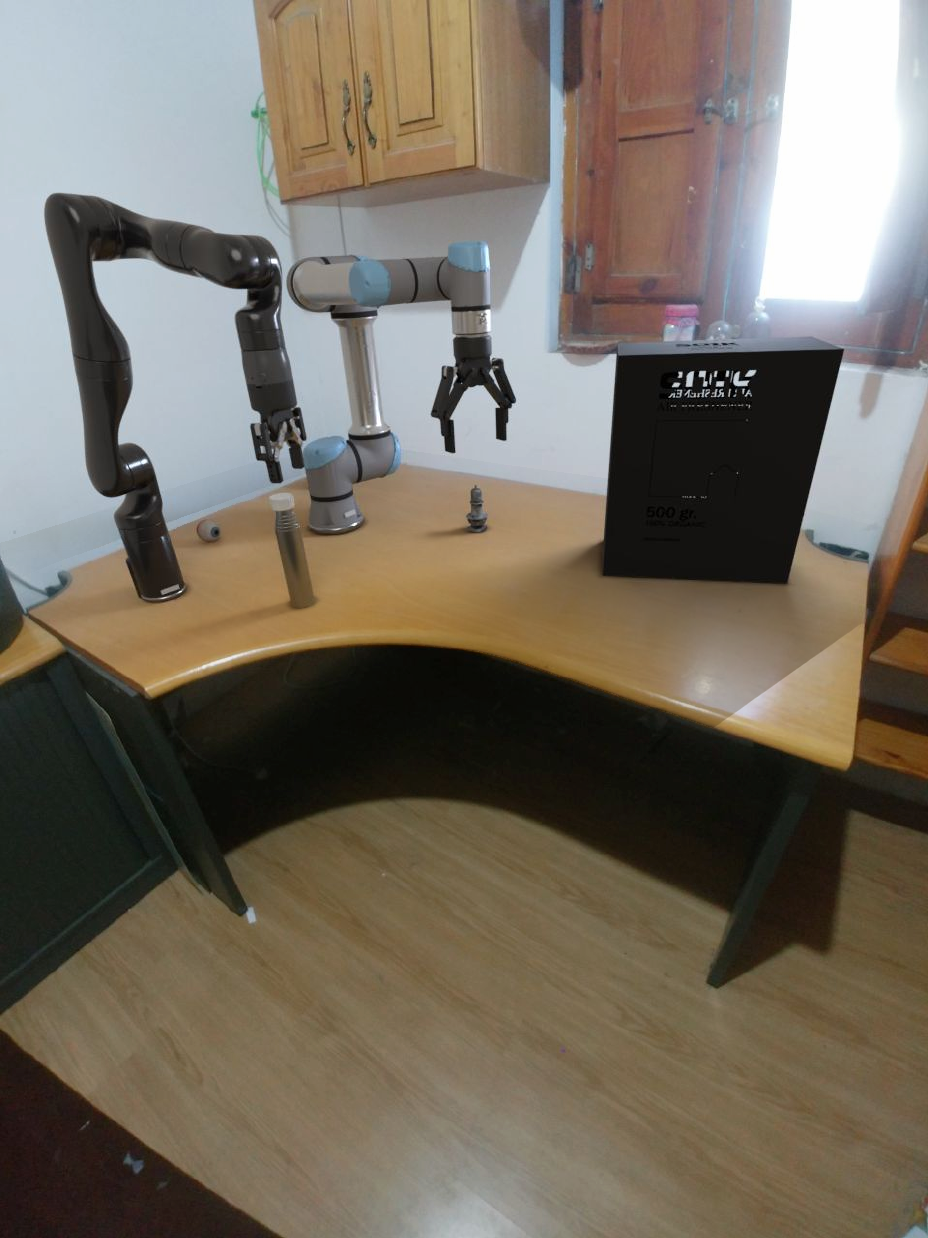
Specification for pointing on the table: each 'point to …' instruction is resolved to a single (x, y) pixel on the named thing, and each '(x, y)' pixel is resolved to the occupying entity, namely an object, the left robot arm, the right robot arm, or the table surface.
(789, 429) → the black rectangular box
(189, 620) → the table surface
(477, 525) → the grey upright piece
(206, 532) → the eyeball
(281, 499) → the cap
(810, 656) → the table surface
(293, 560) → the bottle
